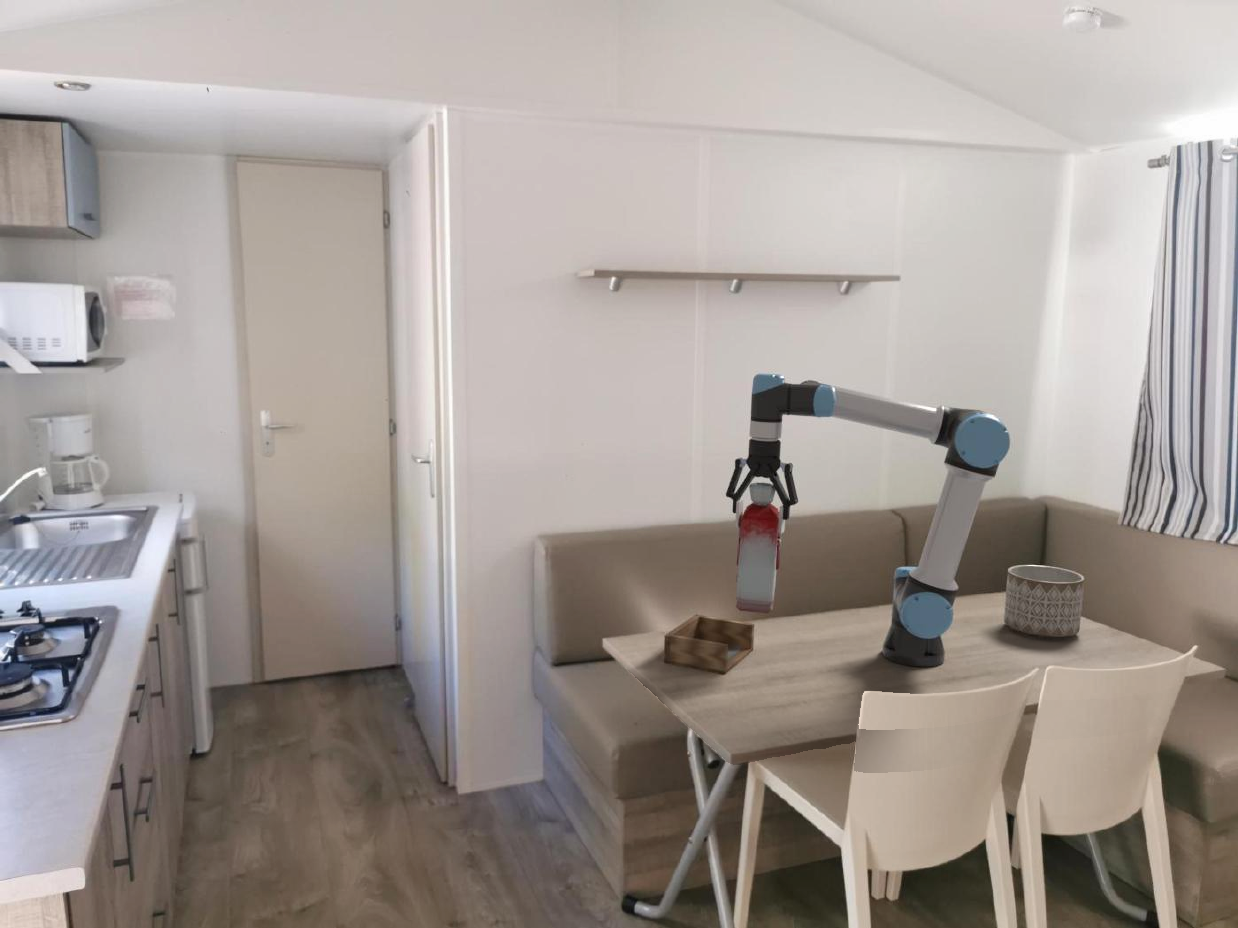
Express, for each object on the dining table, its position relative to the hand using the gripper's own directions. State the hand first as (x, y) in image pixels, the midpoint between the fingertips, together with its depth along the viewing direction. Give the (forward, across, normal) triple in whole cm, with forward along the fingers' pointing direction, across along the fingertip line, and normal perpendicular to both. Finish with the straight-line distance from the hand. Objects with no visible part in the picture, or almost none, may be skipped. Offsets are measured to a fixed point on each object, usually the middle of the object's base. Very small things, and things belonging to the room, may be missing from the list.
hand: (759, 529), depth 240 cm
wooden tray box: (+34, +11, +2) cm, 35 cm away
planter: (+32, -62, -64) cm, 95 cm away
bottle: (+19, 0, 0) cm, 19 cm away
